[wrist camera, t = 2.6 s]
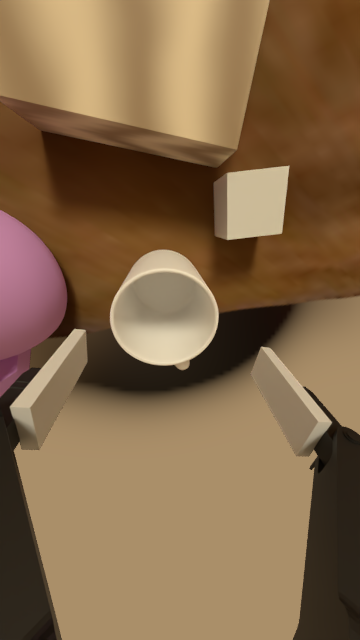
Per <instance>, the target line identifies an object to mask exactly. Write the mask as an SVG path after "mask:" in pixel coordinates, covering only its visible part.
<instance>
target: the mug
mask: <svg viewBox="0 0 360 640" xmlns="http://www.w3.org/2000/svg"><path fill="white" fill-rule="evenodd" d="M218 316H219V315H218V307H217V303H216V301H215V298H214V296H213V294H212V293H211V291H210V290H209V288H208V287H207V285H206V284H205V282H204V280H203V279H202V277H201V276H200V274H199V273H198V271H197V270H196V268H195V267H194V266H193V264H192V263H191V262H190V261H189V260H188V259H187V258H186V257H184V256H183V255H181V254H179V253H177V252H174V251H170V250H157V251H153V252H150V253H148V254H146V255H144V256H143V257H141V258H140V259H139V260H138V261H137V262H136V263H135V264H134V266H133V267H132V269H131V271H130V272H129V274H128V276H127V277H126V279H125V281H124V282H123V284H122V286H121V287H120V289H119V291H118V292H117V294H116V296H115V298H114V300H113V303H112V306H111V310H110V324H111V328H112V331H113V334H114V336H115V338H116V340H117V342H118V343H119V344H120V346H121V347H122V348H123V349H124V350H125V351H126V352H127V353H128V354H130V355H131V356H133V357H134V358H136V359H138V360H140V361H142V362H145V363H149V364H153V365H164V366H167V365H175V366H176V367H177V368H178V369H180V370H184V369H187V368H188V367H189V364H190V363H189V360H190V359H192V358H194V357H195V356H197V355H198V354H200V353H201V352H202V351H203V350H204V349H205V348H206V347H207V346H208V345H209V343H210V342H211V340H212V339H213V337H214V335H215V332H216V329H217V325H218Z"/></svg>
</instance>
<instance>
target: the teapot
mask: <svg viewBox="0 0 360 640" xmlns="http://www.w3.org/2000/svg"><path fill="white" fill-rule="evenodd" d="M66 306H67V289H66V284H65V280H64V277H63V274H62V271H61V269H60V267H59V265H58V263H57V261H56V259H55V258H54V256H53V255H52V253H51V251H50V250H49V249H48V248H47V246H46V245H45V244H44V243H43V242H42V240H41V239H40V238H39V237H38V236H37V235H36V234H35V233H33V232H32V231H31V230H30V229H29V228H28V227H26V226H25V225H24V224H22V223H21V222H19V221H18V220H17V219H15V218H13V217H12V216H10V215H8V214H6V213H5V212H3V211H1V210H0V397H1V396H2V395H3V394H4V393H5V392H6V391H7V389H8V388H10V386H11V385H12V384H13V383H14V382H15V381H16V380H17V379H18V378H19V377H20V375H21V374H22V373H24V372H26V371H27V370H29V367H30V355H31V348H33V347H35V346H36V345H38V344H40V343H41V342H43V341H44V340H45V339H47V338H48V337H49V336H50V335H51V334H52V333H53V332H54V331H55V330H56V329H57V328H58V327H59V325H60V324H61V322H62V320H63V318H64V315H65V311H66Z"/></svg>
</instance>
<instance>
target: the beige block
mask: <svg viewBox="0 0 360 640" xmlns="http://www.w3.org/2000/svg"><path fill="white" fill-rule="evenodd" d="M288 172H289V166H284V167H275V168H266V169H257V170H249V171H240V172H231V173H227V174H225V175H224V176H222V177H221V178H219V179H218V180H217V181H215V182H214V183H213V185H214V222H215V236H217V237H220V238H223V239H226V240H232V239H240V238H248V237H257V236H265V235H273V234H281V233H282V227H283V218H284V209H285V200H286V191H287V181H288Z"/></svg>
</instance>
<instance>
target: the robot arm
mask: <svg viewBox="0 0 360 640" xmlns="http://www.w3.org/2000/svg"><path fill="white" fill-rule="evenodd" d="M86 344H87V343H86V330H80V329H74V330H73V331H72V332H71V334H70V335H69V336H68V337H67V338H66V340H65V341H64V342H63V343H62V345H61V346H60V347H59V348H58V349H57V350H56V352H55V353H54V354H53V355H52V357H51V358H50V359H49V360H48V361H47V363H46V364H45V365H44V366H43V367H42V368H31V369H29V370H27V371H26V372H24V373H22V374H21V375H20V377H19V378H18V379H17V380H16V381H15V382H14V383H13V384H12V385H11V386H10V388H8V389H7V391H6V392H5V393H4V394H3V395H2V396H1V397H0V640H62V638H61V635H60V631H59V627H58V623H57V619H56V615H55V611H54V607H53V603H52V599H51V595H50V591H49V587H48V583H47V580H46V576H45V572H44V568H43V564H42V560H41V556H40V552H39V548H38V544H37V540H36V536H35V532H34V528H33V524H32V521H31V517H30V513H29V509H28V505H27V501H26V497H25V493H24V489H23V485H22V481H21V477H20V473H19V470H18V466H17V462H16V458H15V454H14V449H15V448H16V446H17V444H18V443H19V442H20V445H21V449H23V450H39V449H40V448H41V446H42V444H43V442H44V441H45V439H46V437H47V435H48V433H49V431H50V430H51V428H52V426H53V424H54V422H55V420H56V419H57V417H58V415H59V413H60V411H61V409H62V408H63V406H64V404H65V402H66V400H67V398H68V397H69V395H70V393H71V391H72V389H73V387H74V386H75V384H76V382H77V380H78V378H79V376H80V374H81V373H82V371H83V369H84V367H85V365H86V363H87V345H86ZM251 376H252V378H253V380H254V382H255V383H256V385H257V387H258V389H259V390H260V392H261V394H262V396H263V397H264V399H265V401H266V403H267V405H268V406H269V408H270V410H271V412H272V414H273V415H274V417H275V419H276V421H277V423H278V424H279V426H280V428H281V429H282V431H283V433H284V435H285V437H286V439H287V440H288V442H289V444H290V446H291V447H292V449H293V451H294V453H295V455H296V456H310V454H311V453H312V451H313V450H315V451H316V453H317V455H318V456H317V458H316V459H315V461H314V462H313V463H312V465H311V466H310V469H311V470H312V469H313V468H314V467H315V469H314V479H313V489H312V499H311V509H310V519H309V530H308V539H307V549H306V560H305V570H304V581H303V590H302V600H301V610H300V619H299V624H298V628H297V630H296V633H295V635H294V638H293V640H360V435H359V434H357V433H356V432H355V431H353V430H352V429H349V428H347V427H342V426H341V425H340V424H339V422H338V421H337V420H336V419H335V418H334V417H333V416H332V414H331V413H330V412H329V411H328V410H327V409H326V407H325V406H323V404H322V403H321V402H320V401H319V399H318V398H317V397H316V396H315V395H314V394H313V392H311V391H310V390H308V389H307V388H306V387H302V386H301V384H300V383H299V382H298V381H297V380H296V378H295V377H294V376H293V375H292V374H291V372H290V371H289V370H288V369H287V368H286V366H285V365H284V364H283V363H282V362H281V360H280V359H279V358H278V357H277V356H276V355H275V353H274V352H273V351H272V350H271V348H265V347H261V348H260V351H259V354H258V356H257V359H256V362H255V364H254V367H253V370H252V372H251Z"/></svg>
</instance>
